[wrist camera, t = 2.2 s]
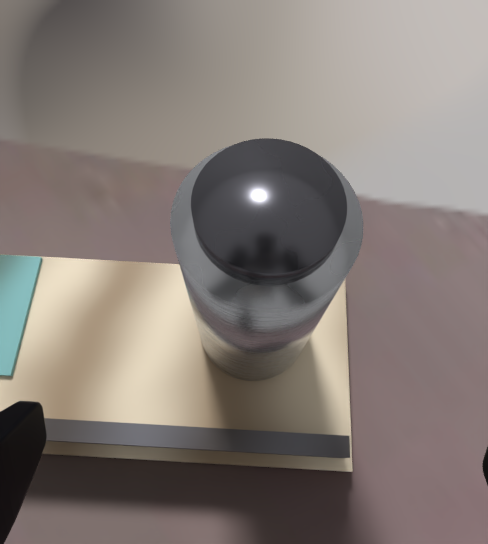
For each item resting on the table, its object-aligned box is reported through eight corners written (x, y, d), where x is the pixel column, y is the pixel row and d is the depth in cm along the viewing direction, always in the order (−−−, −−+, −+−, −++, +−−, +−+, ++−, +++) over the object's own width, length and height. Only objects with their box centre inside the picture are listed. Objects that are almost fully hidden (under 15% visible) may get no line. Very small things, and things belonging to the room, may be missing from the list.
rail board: (341, 279, 23) (353, 258, 20) (348, 471, 19) (363, 472, 17) (-104, 254, 23) (-143, 230, 21) (-178, 440, 19) (-236, 438, 17)
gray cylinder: (325, 350, 21) (413, 242, 10) (228, 400, 20) (221, 335, 9) (274, 262, 22) (306, 96, 12) (182, 304, 21) (134, 162, 11)
